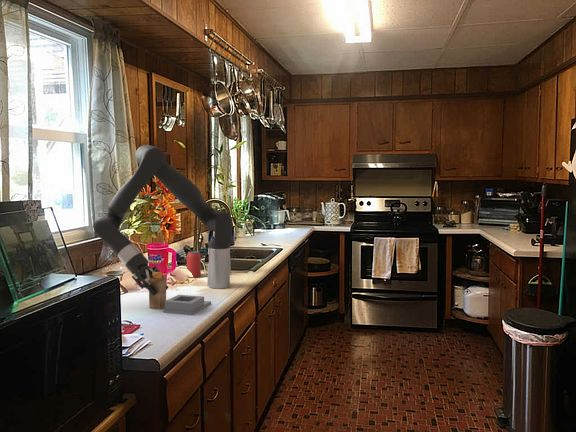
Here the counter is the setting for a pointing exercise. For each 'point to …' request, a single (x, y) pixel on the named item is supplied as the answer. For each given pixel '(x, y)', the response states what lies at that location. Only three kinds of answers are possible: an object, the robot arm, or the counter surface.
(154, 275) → the brown bottle
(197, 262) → the beer can
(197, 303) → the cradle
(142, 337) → the counter surface
